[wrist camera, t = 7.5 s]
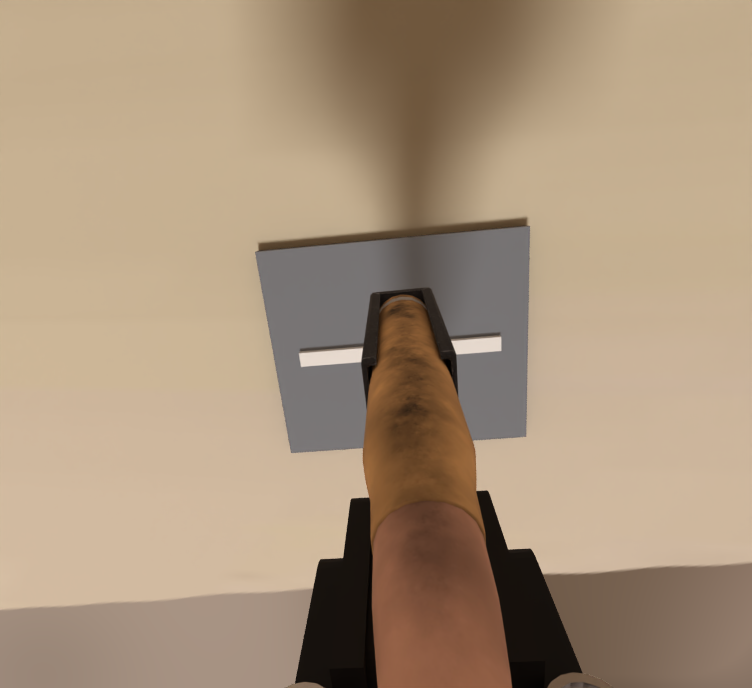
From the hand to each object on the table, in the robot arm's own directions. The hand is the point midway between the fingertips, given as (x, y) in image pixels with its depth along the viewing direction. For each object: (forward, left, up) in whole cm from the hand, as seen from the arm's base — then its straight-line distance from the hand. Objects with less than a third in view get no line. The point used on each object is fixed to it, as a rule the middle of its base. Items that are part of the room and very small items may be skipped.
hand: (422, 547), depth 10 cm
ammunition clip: (0, 0, -5) cm, 5 cm away
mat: (0, 0, -15) cm, 15 cm away
